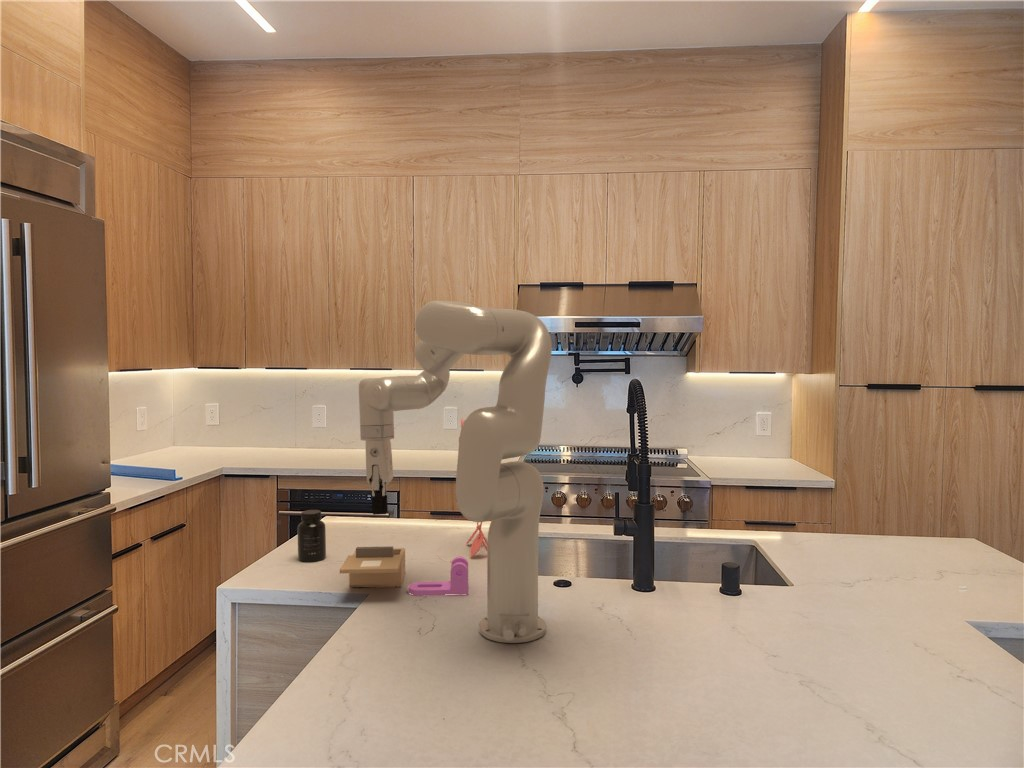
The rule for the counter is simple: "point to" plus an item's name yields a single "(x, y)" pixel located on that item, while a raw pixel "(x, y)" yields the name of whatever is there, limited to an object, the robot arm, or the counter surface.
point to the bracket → (445, 587)
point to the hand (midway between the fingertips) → (380, 513)
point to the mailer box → (380, 575)
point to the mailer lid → (372, 561)
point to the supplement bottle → (311, 537)
